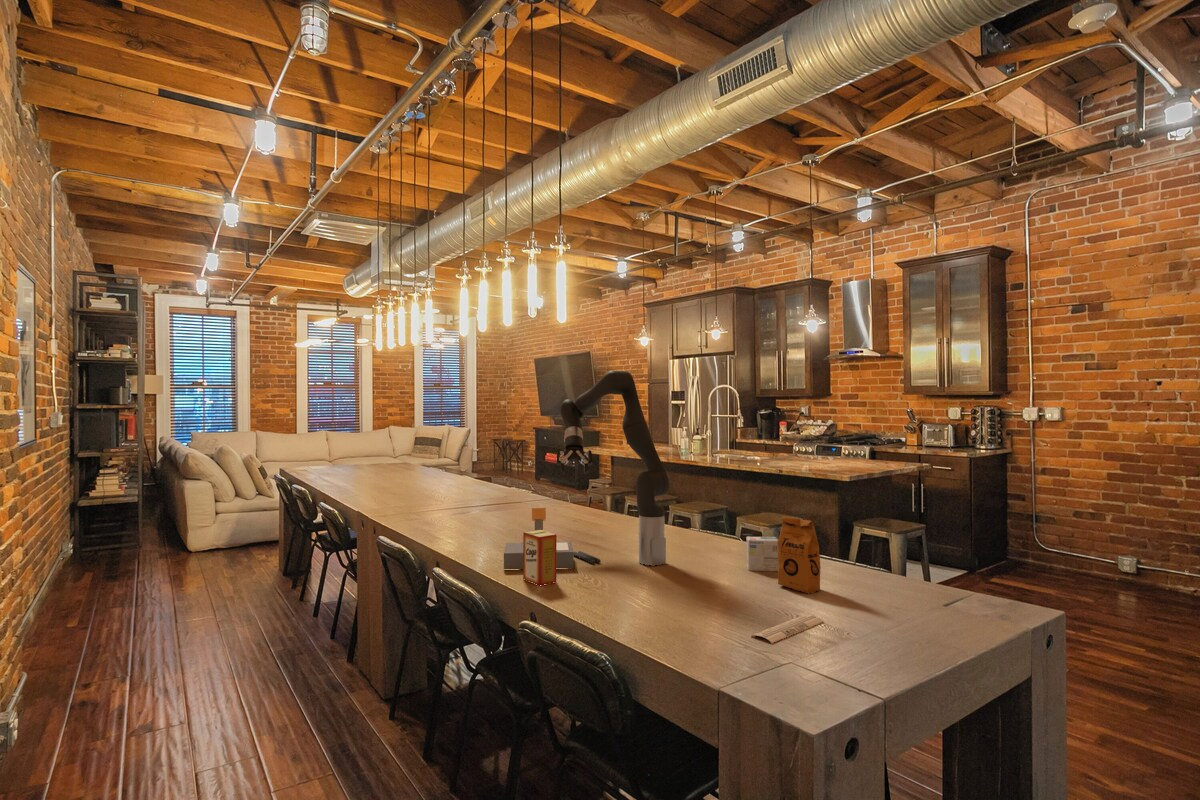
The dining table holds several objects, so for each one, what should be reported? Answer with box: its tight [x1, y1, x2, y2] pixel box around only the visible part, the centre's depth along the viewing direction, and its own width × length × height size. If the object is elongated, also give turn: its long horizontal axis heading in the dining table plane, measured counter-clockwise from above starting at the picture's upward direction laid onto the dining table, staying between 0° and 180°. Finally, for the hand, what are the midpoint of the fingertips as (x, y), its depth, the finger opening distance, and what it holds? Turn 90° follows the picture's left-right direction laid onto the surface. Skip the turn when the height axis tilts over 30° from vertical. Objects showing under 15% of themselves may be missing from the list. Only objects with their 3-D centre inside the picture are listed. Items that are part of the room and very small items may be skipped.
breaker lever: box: [531, 507, 547, 531], centre depth 233 cm, size 2×5×13 cm, turn 96°
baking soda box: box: [522, 529, 557, 587], centre depth 208 cm, size 10×6×16 cm
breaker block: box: [503, 541, 574, 570], centre depth 230 cm, size 16×24×9 cm, turn 95°
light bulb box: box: [745, 536, 779, 572], centre depth 224 cm, size 11×7×11 cm, turn 84°
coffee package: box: [777, 516, 821, 595], centre depth 201 cm, size 10×12×22 cm
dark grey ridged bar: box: [573, 550, 602, 565], centre depth 237 cm, size 16×4×2 cm, turn 31°
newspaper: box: [750, 614, 824, 645], centre depth 165 cm, size 24×7×2 cm, turn 130°
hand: (574, 473), depth 249 cm, fingers open, 8 cm apart
